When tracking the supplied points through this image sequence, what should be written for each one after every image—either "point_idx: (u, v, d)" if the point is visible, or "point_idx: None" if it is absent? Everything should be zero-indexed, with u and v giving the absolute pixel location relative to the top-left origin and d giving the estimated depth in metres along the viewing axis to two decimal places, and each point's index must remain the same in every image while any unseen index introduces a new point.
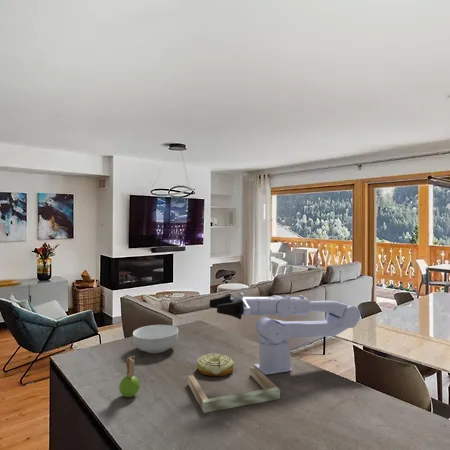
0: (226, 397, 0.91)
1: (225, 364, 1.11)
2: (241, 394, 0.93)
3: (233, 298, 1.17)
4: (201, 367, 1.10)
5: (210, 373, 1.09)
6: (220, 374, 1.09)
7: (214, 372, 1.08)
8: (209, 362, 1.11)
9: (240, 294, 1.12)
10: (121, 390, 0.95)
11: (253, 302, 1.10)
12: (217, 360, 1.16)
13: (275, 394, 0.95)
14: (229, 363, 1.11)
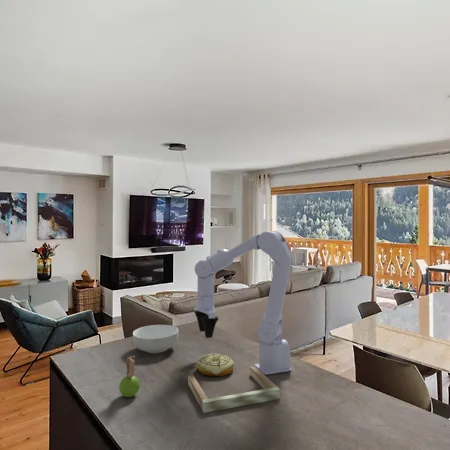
0: (226, 397, 0.91)
1: (225, 363, 1.11)
2: (241, 394, 0.93)
3: None
4: (201, 367, 1.10)
5: (210, 373, 1.09)
6: (220, 374, 1.09)
7: (214, 372, 1.08)
8: (209, 362, 1.11)
9: None
10: (121, 390, 0.95)
11: (203, 300, 1.21)
12: (217, 360, 1.16)
13: (275, 394, 0.95)
14: (229, 363, 1.11)
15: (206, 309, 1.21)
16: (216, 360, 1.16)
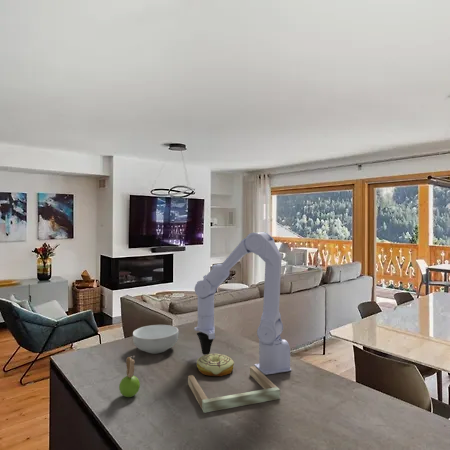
0: (226, 397, 0.91)
1: (225, 363, 1.11)
2: (241, 394, 0.93)
3: None
4: (201, 367, 1.10)
5: (210, 373, 1.09)
6: (220, 374, 1.09)
7: (214, 372, 1.08)
8: (209, 362, 1.11)
9: None
10: (121, 390, 0.95)
11: (203, 321, 1.21)
12: (217, 359, 1.16)
13: (275, 394, 0.95)
14: (229, 363, 1.11)
15: (206, 329, 1.21)
16: (216, 360, 1.16)
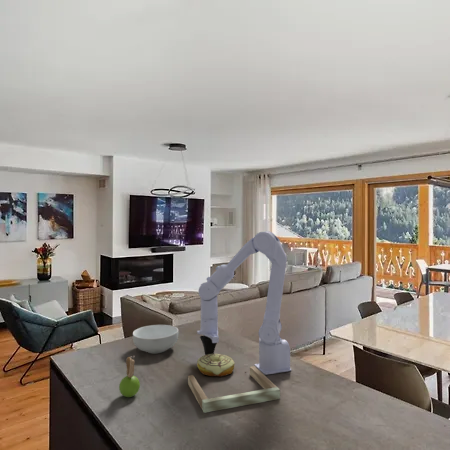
0: (226, 397, 0.91)
1: (225, 364, 1.10)
2: (241, 394, 0.93)
3: None
4: (202, 367, 1.10)
5: (211, 373, 1.09)
6: (221, 374, 1.09)
7: (215, 372, 1.08)
8: (210, 362, 1.10)
9: None
10: (121, 390, 0.95)
11: (206, 324, 1.18)
12: (217, 360, 1.15)
13: (275, 394, 0.95)
14: (229, 363, 1.11)
15: (209, 333, 1.17)
16: (216, 360, 1.15)
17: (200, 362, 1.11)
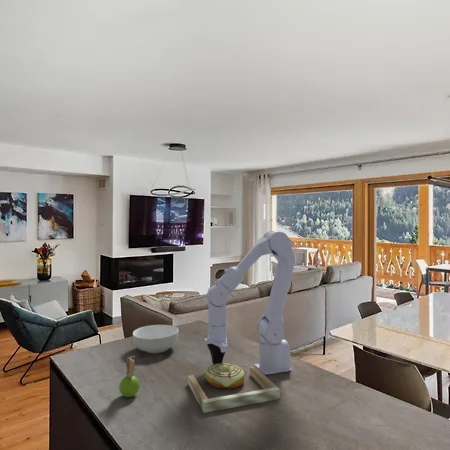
0: (226, 397, 0.91)
1: (236, 375, 1.02)
2: (241, 394, 0.93)
3: None
4: (210, 378, 1.02)
5: (220, 385, 1.01)
6: (231, 386, 1.01)
7: (224, 384, 1.00)
8: (219, 373, 1.02)
9: None
10: (121, 390, 0.95)
11: (214, 331, 1.09)
12: (226, 370, 1.07)
13: (275, 394, 0.95)
14: (240, 374, 1.03)
15: (218, 341, 1.09)
16: (225, 370, 1.07)
17: (208, 373, 1.03)
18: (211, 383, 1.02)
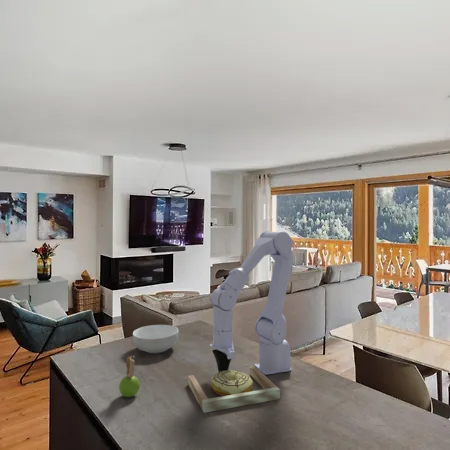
0: (226, 397, 0.91)
1: (243, 383, 0.97)
2: (241, 394, 0.93)
3: None
4: (216, 387, 0.96)
5: (227, 394, 0.95)
6: None
7: (232, 393, 0.95)
8: (225, 381, 0.97)
9: None
10: (121, 390, 0.95)
11: (220, 337, 1.04)
12: (233, 378, 1.02)
13: (275, 394, 0.95)
14: (248, 382, 0.98)
15: (224, 347, 1.04)
16: (232, 378, 1.02)
17: (214, 381, 0.98)
18: (217, 392, 0.97)
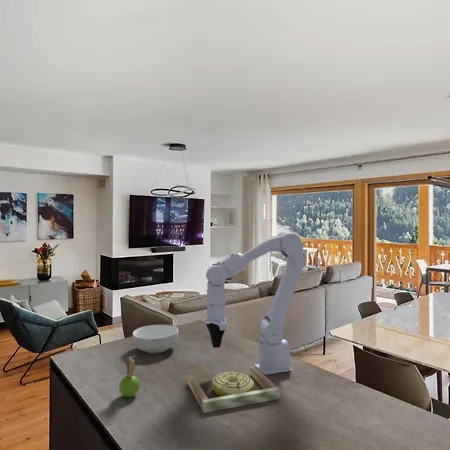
0: (226, 397, 0.91)
1: (245, 385, 0.96)
2: (241, 394, 0.93)
3: None
4: (218, 389, 0.96)
5: None
6: None
7: None
8: (227, 383, 0.96)
9: None
10: (121, 390, 0.95)
11: (213, 310, 1.10)
12: (235, 379, 1.01)
13: (275, 394, 0.95)
14: (249, 384, 0.97)
15: (217, 320, 1.10)
16: (234, 380, 1.01)
17: (215, 383, 0.97)
18: (219, 394, 0.96)
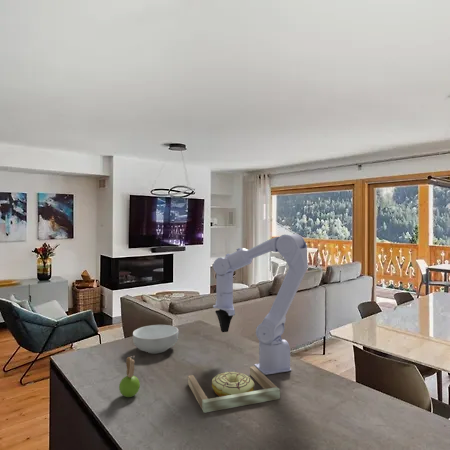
0: (226, 397, 0.91)
1: (245, 385, 0.96)
2: (241, 394, 0.93)
3: None
4: (218, 389, 0.96)
5: None
6: None
7: None
8: (227, 383, 0.96)
9: None
10: (121, 390, 0.95)
11: (222, 298, 1.21)
12: (235, 379, 1.01)
13: (275, 394, 0.95)
14: (249, 384, 0.97)
15: (225, 306, 1.21)
16: (234, 380, 1.01)
17: (215, 383, 0.97)
18: (219, 394, 0.96)
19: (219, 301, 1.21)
